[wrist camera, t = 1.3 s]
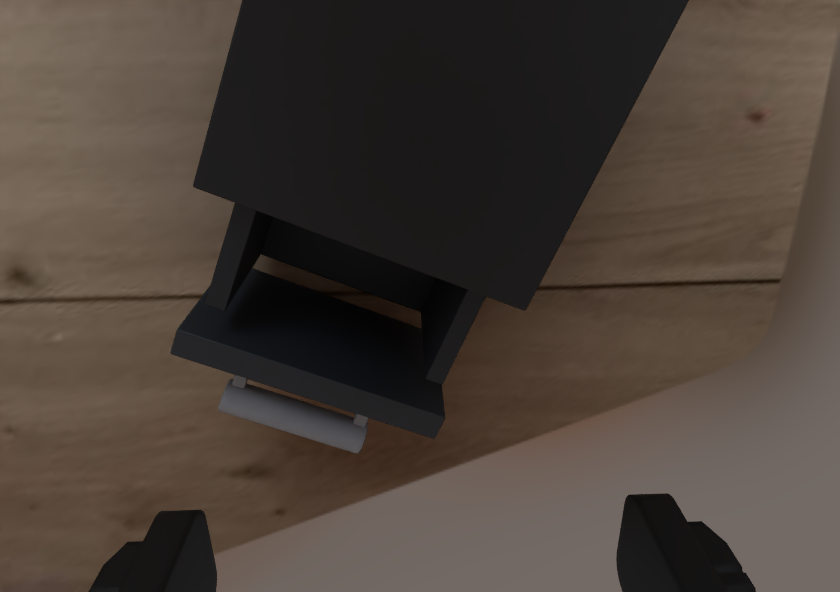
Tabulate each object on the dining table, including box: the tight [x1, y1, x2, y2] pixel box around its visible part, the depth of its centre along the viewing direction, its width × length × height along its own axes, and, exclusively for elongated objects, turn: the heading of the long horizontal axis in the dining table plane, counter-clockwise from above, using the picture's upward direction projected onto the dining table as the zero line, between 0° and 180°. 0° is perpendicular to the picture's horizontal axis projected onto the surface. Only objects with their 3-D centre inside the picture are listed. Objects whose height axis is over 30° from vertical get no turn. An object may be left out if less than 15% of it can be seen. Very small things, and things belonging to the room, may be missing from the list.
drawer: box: [171, 203, 486, 453], centre depth 27 cm, size 18×11×8 cm, turn 158°
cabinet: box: [193, 0, 689, 310], centre depth 23 cm, size 15×13×10 cm
